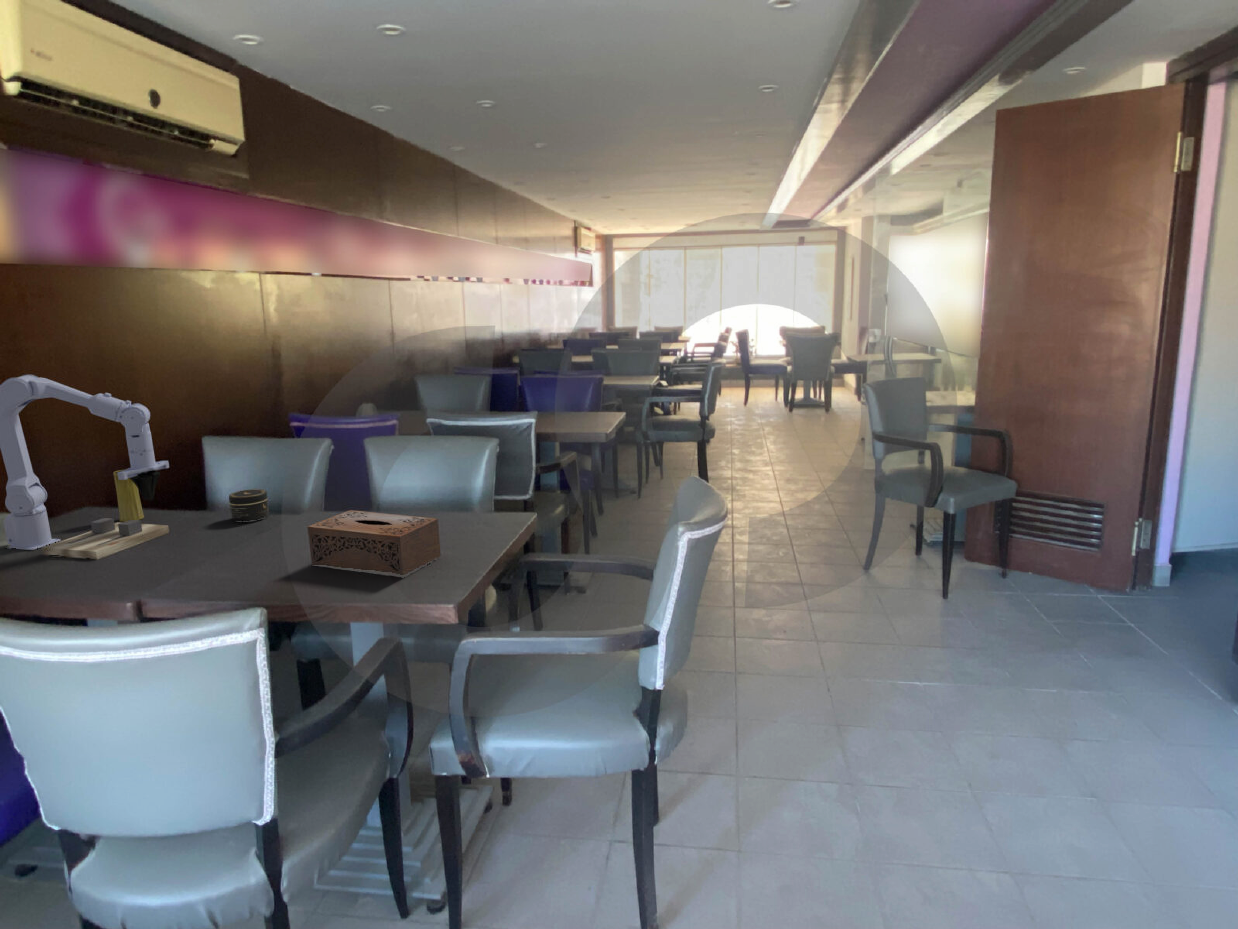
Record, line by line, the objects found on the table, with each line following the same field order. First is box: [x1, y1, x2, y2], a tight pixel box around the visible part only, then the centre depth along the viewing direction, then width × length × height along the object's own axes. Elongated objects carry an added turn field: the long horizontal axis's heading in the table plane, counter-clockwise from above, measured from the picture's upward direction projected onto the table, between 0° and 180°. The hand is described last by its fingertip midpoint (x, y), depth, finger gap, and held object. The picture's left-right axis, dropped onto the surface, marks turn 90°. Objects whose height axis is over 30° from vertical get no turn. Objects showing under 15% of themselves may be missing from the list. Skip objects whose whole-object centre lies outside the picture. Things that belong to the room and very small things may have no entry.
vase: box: [113, 469, 145, 523], centre depth 225 cm, size 6×6×14 cm
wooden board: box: [41, 521, 170, 560], centre depth 204 cm, size 17×22×2 cm
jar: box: [228, 488, 270, 522], centre depth 223 cm, size 10×10×8 cm
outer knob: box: [118, 519, 142, 536], centre depth 205 cm, size 3×4×3 cm
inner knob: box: [90, 517, 115, 534], centre depth 207 cm, size 3×4×3 cm
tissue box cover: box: [307, 509, 442, 575], centre depth 184 cm, size 26×14×10 cm, turn 69°
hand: (148, 499), depth 210 cm, fingers closed
